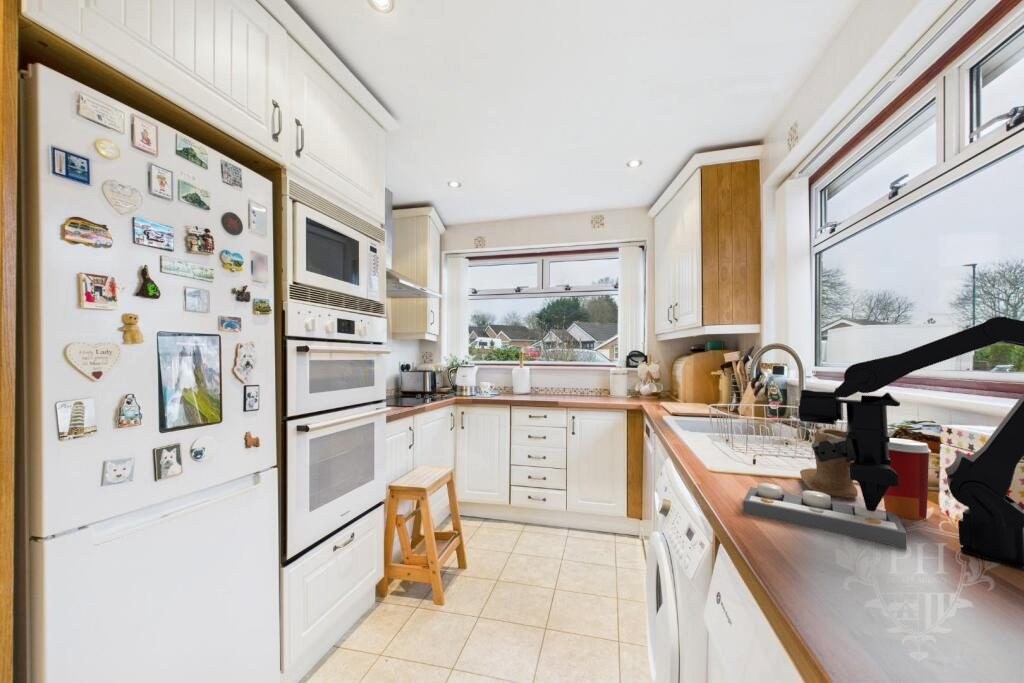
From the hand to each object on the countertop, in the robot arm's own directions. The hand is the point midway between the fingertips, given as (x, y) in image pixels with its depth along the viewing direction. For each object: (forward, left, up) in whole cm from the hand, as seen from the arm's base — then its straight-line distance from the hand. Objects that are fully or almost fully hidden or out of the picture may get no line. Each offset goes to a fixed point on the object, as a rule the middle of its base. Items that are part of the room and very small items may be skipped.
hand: (870, 510), depth 73 cm
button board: (+7, +5, -3) cm, 9 cm away
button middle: (+7, +3, -1) cm, 8 cm away
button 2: (0, 0, -2) cm, 2 cm away
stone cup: (+14, -18, -4) cm, 23 cm away
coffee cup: (0, -14, -3) cm, 15 cm away
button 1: (+15, +7, -1) cm, 16 cm away
